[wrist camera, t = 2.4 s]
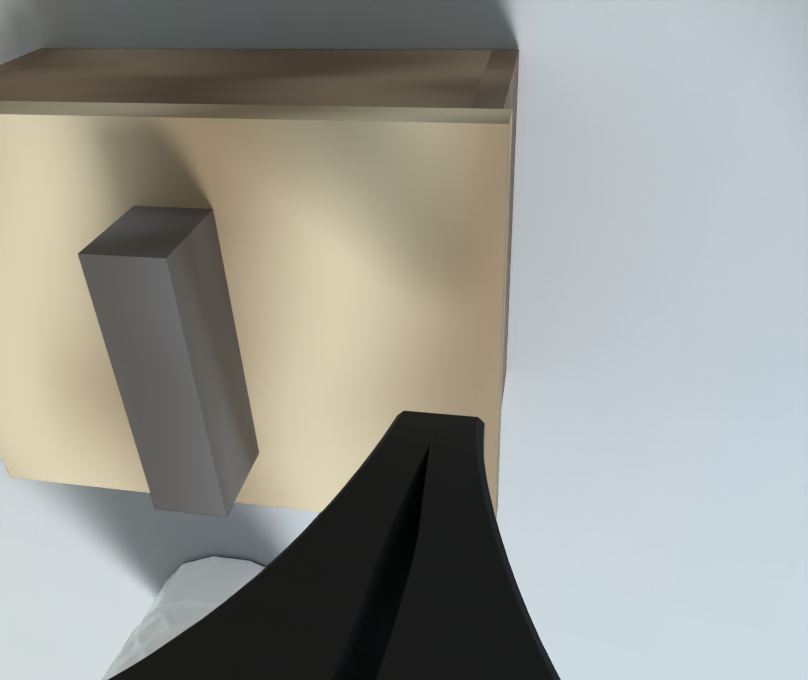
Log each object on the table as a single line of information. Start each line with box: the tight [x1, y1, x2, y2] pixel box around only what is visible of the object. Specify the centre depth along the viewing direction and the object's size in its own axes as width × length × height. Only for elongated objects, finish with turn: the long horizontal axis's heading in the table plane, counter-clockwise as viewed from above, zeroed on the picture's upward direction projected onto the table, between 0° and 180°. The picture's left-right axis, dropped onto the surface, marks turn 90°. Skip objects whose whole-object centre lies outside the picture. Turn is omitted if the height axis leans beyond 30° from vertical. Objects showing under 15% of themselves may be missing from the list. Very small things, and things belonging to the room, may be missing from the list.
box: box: [0, 49, 519, 407], centre depth 19 cm, size 12×9×5 cm
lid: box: [0, 101, 513, 517], centre depth 16 cm, size 12×9×3 cm
